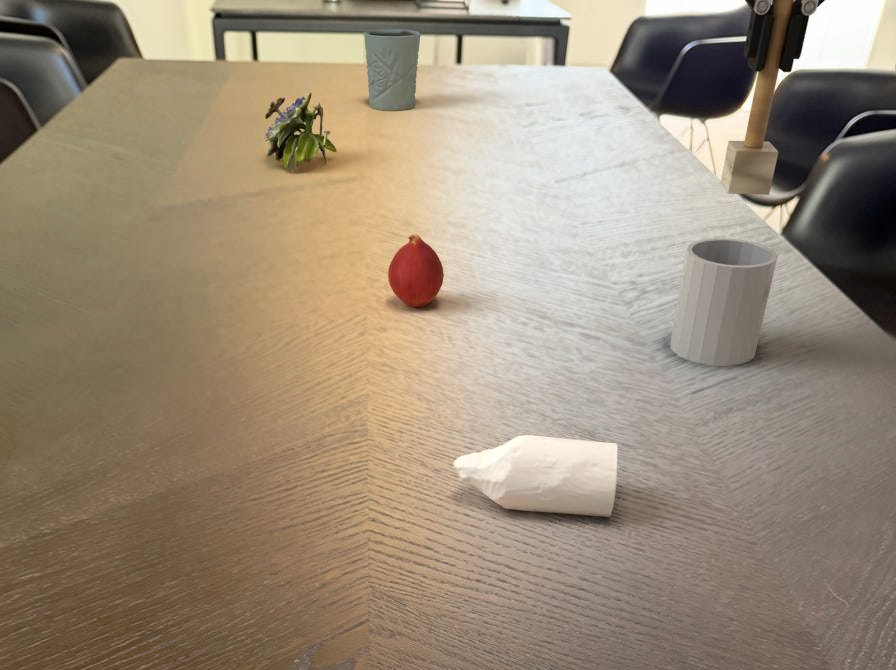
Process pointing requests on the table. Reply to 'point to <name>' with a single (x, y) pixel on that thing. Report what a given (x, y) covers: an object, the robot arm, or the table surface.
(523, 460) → the white tapered cylinder
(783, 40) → the mallet
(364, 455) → the table surface
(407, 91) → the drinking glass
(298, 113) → the passion flower
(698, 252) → the faceted pen holder
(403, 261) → the onion
